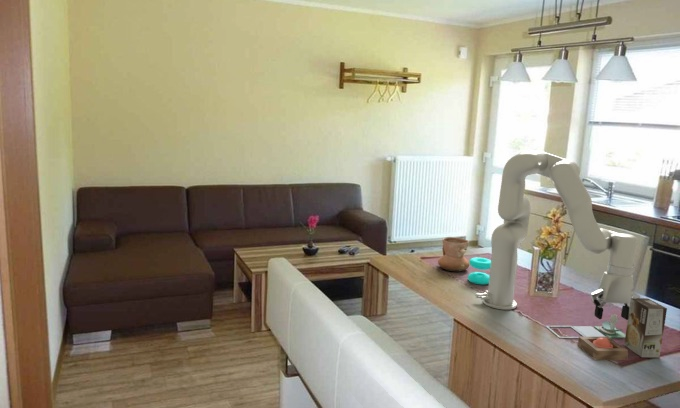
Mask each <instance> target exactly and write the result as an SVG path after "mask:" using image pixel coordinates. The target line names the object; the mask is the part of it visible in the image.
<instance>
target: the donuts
mask: <svg viewBox="0 0 680 408" xmlns="http://www.w3.org/2000/svg"><path fill="white" fill-rule="evenodd" d="M468 261H469V264H470V265H469V266H471V268H474V269H476V270H482V272H481V271H474V272H470V273H469V274H468V276H467V279H468V281H469V283H471V284H476V285H482V286H483V285H489V277H490V274H487V273H485V272H483V271H484V270H490V267H491V259H490V258H489V259H488V258H487V257H486V258H485V257H480V256H479V257H472V258H470V259H469V260H468Z"/></svg>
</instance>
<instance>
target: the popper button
mask: <svg viewBox="0 0 680 408" xmlns="http://www.w3.org/2000/svg"><path fill="white" fill-rule="evenodd" d="M593 344H594V345H595V346H597V347H598V348H613V345H612V344H611V343H610V341H609V340H608V339H607V338H604V337H600V338H598V339H596V340H594V341H593Z"/></svg>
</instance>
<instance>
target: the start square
mask: <svg viewBox="0 0 680 408" xmlns="http://www.w3.org/2000/svg"><path fill="white" fill-rule="evenodd" d="M545 328H546V329H548V330H549V332H551V333H553V334H554V336H556V337H558V339H577V340H578V339H579V337H586V336H584V335H583V334H582V333H580V332H579V331H578V330H576V329H575V328H574V327H573V326H572V325H545ZM552 328H571V329H572V330H573V331H575V332H576V333H577V334H579V335H580V336H560V335H559V334H558V333H557V332H555V331H554V329H552Z"/></svg>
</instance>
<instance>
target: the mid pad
mask: <svg viewBox="0 0 680 408" xmlns="http://www.w3.org/2000/svg"><path fill="white" fill-rule="evenodd" d="M572 327H574V328H575V329H576V330H578V331H579V332H580V333H582V334H583V335H584V336H586V337H607V336H606V335H605V334H603V333H602V332H600V331H599V330H597V329H596V328H595V327H594V326H591V325H587V326H584V325H581V326H579V325H576V326H575V325H573V326H572Z"/></svg>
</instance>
